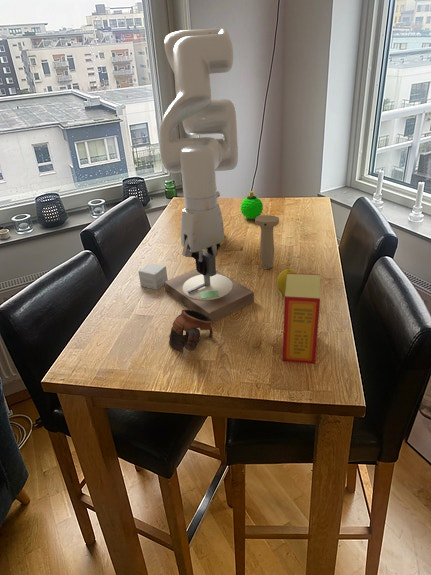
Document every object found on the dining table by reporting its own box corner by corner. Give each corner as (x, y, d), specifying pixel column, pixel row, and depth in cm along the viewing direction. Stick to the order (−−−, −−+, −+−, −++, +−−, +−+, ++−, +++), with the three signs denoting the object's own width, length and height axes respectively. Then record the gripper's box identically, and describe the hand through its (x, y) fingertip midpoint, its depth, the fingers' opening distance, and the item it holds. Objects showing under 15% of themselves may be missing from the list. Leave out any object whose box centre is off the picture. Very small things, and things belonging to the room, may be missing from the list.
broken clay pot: (163, 336, 98) (175, 303, 97) (201, 346, 101) (213, 314, 99) (169, 357, 87) (182, 321, 85) (211, 368, 89) (225, 332, 88)
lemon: (285, 304, 105) (286, 276, 101) (272, 294, 109) (272, 267, 105) (303, 298, 107) (304, 270, 103) (289, 288, 112) (290, 261, 107)
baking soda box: (285, 333, 95) (287, 271, 87) (314, 335, 94) (319, 272, 86) (282, 361, 87) (284, 295, 79) (314, 363, 86) (320, 297, 78)
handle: (276, 272, 119) (277, 222, 112) (254, 270, 121) (253, 221, 114) (279, 264, 123) (280, 216, 116) (257, 262, 125) (257, 214, 117)
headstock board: (165, 291, 114) (164, 281, 113) (207, 273, 121) (206, 264, 120) (210, 323, 100) (209, 313, 99) (254, 301, 107) (253, 291, 106)
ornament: (257, 223, 150) (256, 196, 145) (237, 220, 154) (236, 194, 149) (266, 216, 156) (266, 189, 151) (246, 213, 160) (246, 187, 155)
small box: (168, 280, 119) (166, 265, 117) (157, 290, 115) (154, 274, 112) (152, 277, 122) (149, 261, 119) (140, 286, 117) (137, 271, 115)
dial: (173, 286, 110) (172, 284, 110) (212, 269, 117) (212, 268, 117) (202, 306, 101) (202, 304, 101) (243, 287, 108) (243, 285, 108)
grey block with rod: (181, 288, 108) (178, 257, 103) (203, 279, 111) (200, 248, 107) (195, 298, 104) (192, 265, 99) (217, 288, 107) (214, 256, 102)
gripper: (218, 189, 104) (221, 256, 113) (162, 206, 96) (171, 276, 105) (237, 196, 99) (240, 266, 108) (180, 215, 91) (188, 288, 100)
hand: (206, 270), depth 107 cm, fingers closed
